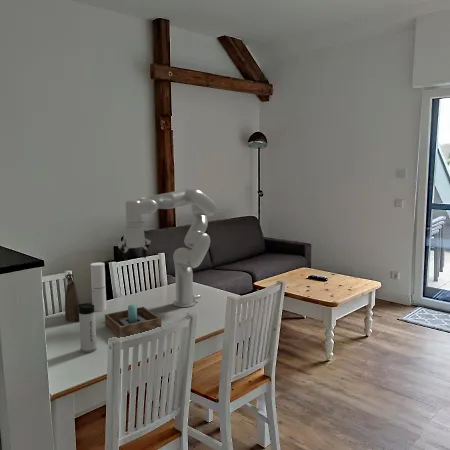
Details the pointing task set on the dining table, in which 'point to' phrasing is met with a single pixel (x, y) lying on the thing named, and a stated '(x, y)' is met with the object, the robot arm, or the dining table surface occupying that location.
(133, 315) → the peg
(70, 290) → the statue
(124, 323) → the bore plate
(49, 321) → the dining table surface
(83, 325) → the travel mug
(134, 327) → the box
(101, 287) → the cylindrical container
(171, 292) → the dining table surface
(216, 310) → the dining table surface
